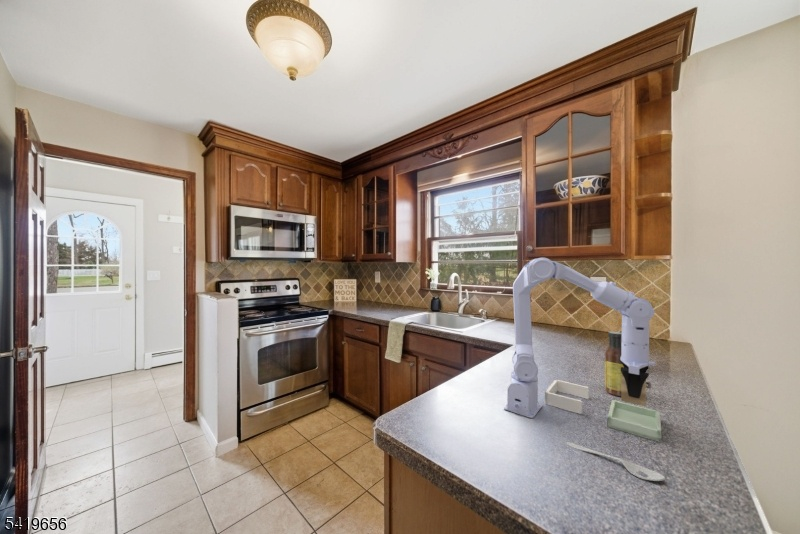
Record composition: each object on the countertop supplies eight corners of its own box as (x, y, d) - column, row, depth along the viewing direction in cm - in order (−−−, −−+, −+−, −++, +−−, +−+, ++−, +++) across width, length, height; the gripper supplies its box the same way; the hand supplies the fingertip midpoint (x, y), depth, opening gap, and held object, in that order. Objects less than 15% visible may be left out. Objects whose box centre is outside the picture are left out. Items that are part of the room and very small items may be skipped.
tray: (661, 442, 69) (661, 432, 69) (607, 426, 76) (607, 417, 76) (659, 420, 79) (659, 411, 79) (611, 408, 86) (612, 399, 86)
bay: (581, 414, 82) (581, 401, 82) (544, 403, 88) (544, 392, 88) (588, 398, 92) (588, 387, 92) (555, 389, 98) (555, 379, 98)
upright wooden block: (651, 407, 73) (651, 383, 73) (621, 400, 77) (621, 377, 77) (650, 401, 77) (650, 378, 77) (622, 394, 81) (622, 373, 81)
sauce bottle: (632, 398, 92) (633, 335, 92) (610, 396, 93) (611, 334, 93) (621, 389, 98) (622, 331, 98) (600, 388, 100) (601, 330, 100)
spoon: (663, 491, 55) (663, 483, 54) (548, 441, 70) (548, 435, 70) (666, 480, 57) (666, 472, 57) (554, 435, 73) (554, 428, 73)
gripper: (655, 351, 69) (655, 408, 69) (654, 339, 80) (653, 389, 80) (618, 346, 74) (618, 399, 74) (622, 335, 85) (621, 382, 85)
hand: (634, 393), depth 77 cm, fingers closed on upright wooden block, 4 cm apart
